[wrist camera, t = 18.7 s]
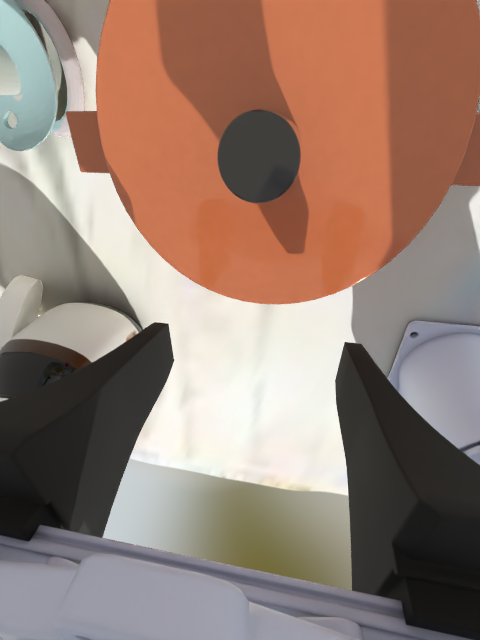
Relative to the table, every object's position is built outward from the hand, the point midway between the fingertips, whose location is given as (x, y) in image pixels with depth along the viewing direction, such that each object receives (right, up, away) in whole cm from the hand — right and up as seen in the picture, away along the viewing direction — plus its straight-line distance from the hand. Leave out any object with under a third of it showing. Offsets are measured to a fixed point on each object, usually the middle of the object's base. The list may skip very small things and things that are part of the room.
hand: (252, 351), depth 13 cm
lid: (+1, +8, -1) cm, 8 cm away
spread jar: (-14, +1, +15) cm, 21 cm away
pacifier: (-12, +16, +5) cm, 20 cm away
